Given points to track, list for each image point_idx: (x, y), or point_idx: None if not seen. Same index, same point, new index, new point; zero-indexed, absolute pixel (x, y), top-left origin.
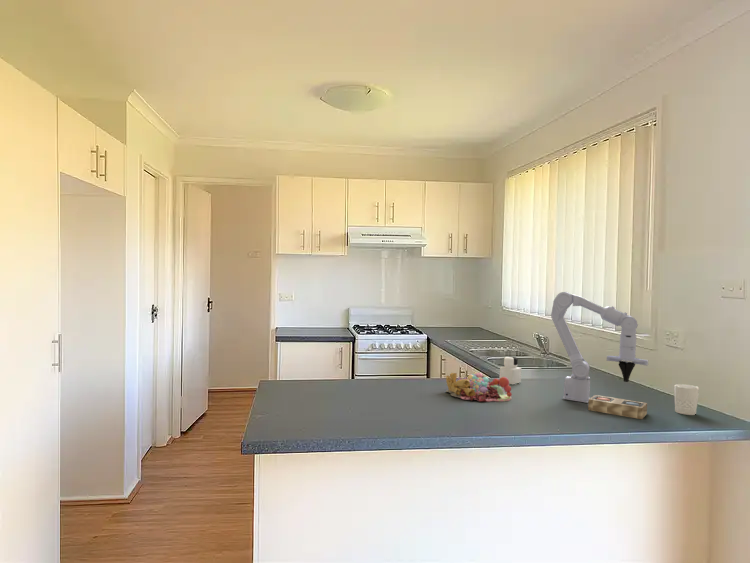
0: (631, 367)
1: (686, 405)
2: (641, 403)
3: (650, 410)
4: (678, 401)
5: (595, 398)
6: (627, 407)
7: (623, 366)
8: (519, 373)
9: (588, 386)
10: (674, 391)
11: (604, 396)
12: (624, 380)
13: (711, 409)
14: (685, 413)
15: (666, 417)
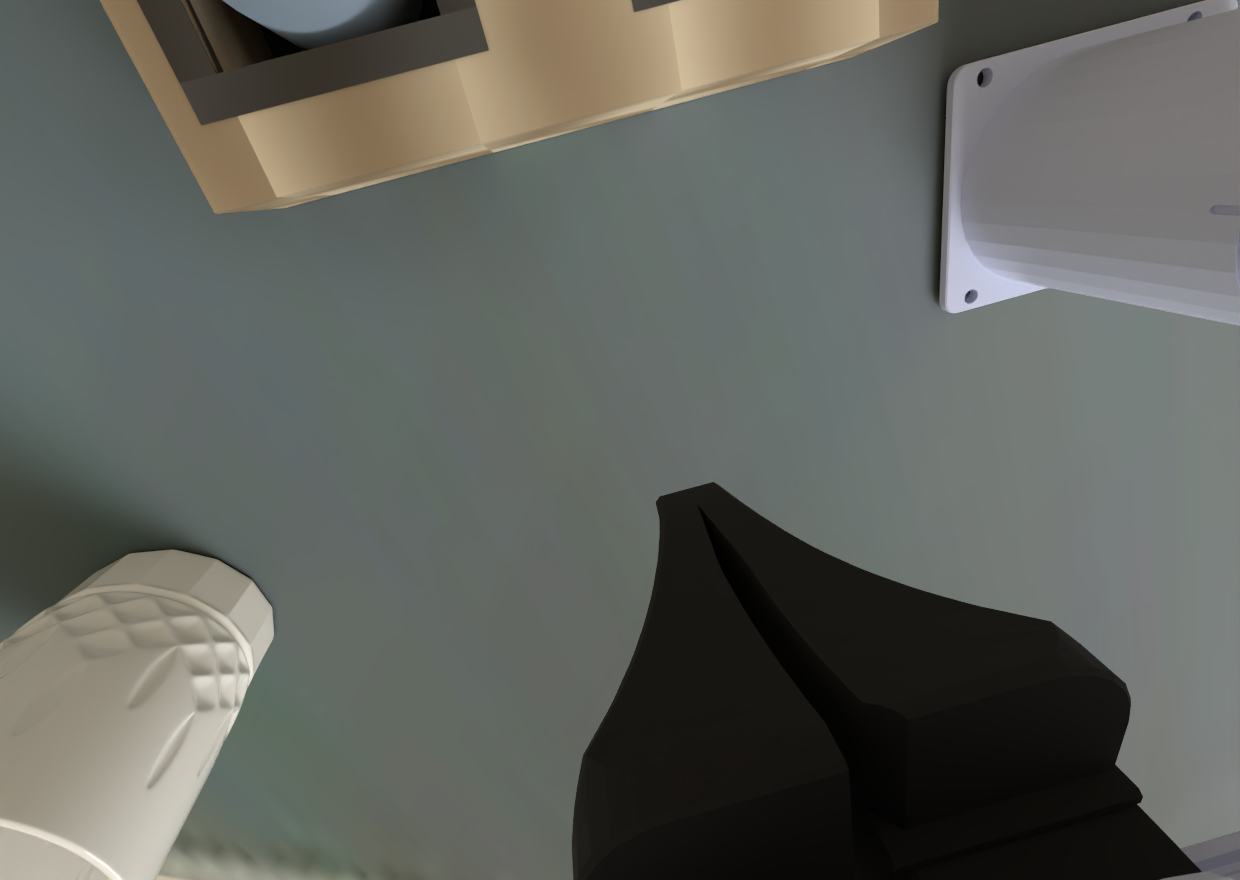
0: (608, 736)
1: (40, 619)
2: (211, 66)
3: (383, 419)
4: (109, 628)
5: None
6: None
7: (882, 659)
8: None
9: (1130, 159)
10: (145, 754)
11: (804, 45)
12: (709, 490)
13: (211, 849)
14: (117, 562)
15: (77, 257)
